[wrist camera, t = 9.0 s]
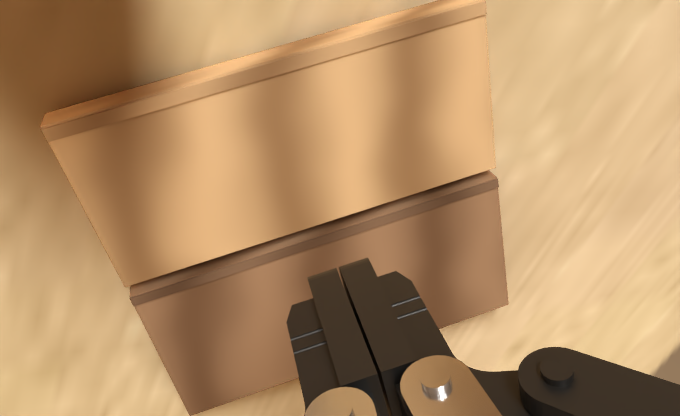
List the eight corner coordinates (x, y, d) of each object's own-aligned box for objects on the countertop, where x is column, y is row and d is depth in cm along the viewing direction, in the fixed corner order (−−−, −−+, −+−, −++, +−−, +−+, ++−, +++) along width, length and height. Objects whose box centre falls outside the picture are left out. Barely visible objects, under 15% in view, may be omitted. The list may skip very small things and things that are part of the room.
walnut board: (483, 165, 34) (497, 178, 33) (496, 289, 39) (509, 305, 37) (131, 279, 32) (129, 297, 30) (189, 395, 36) (190, 417, 35)
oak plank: (470, -9, 29) (485, -2, 27) (483, 155, 34) (496, 168, 32) (45, 113, 27) (39, 127, 25) (125, 269, 31) (124, 288, 30)
